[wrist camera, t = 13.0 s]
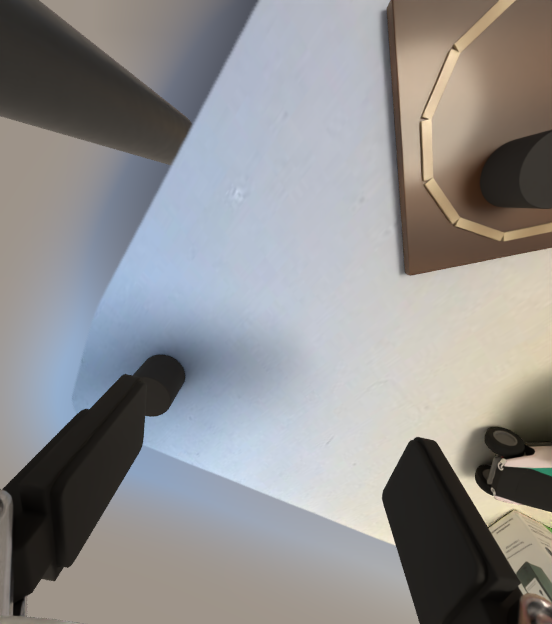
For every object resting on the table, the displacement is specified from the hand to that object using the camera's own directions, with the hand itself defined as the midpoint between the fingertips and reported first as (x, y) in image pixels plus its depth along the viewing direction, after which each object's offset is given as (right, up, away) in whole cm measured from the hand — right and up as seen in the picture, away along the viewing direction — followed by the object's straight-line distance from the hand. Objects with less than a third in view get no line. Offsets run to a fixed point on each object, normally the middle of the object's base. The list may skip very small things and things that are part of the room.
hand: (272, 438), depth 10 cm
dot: (+15, +13, +8) cm, 22 cm away
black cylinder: (-10, -1, +17) cm, 20 cm away
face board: (+16, +16, +8) cm, 24 cm away
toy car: (+25, -9, +18) cm, 32 cm away
